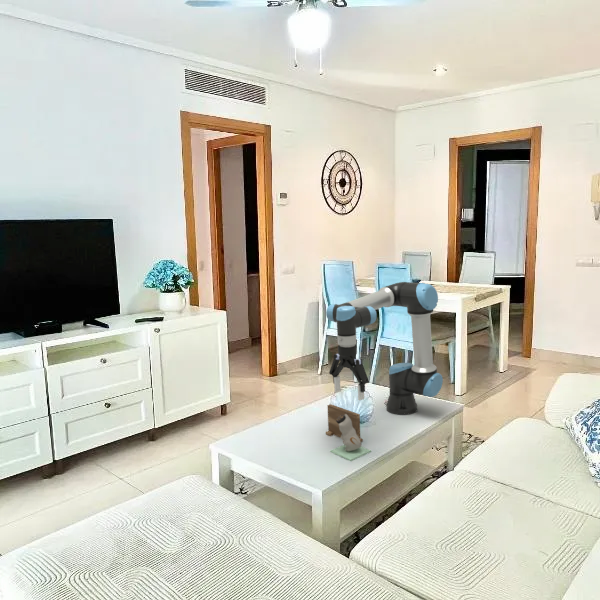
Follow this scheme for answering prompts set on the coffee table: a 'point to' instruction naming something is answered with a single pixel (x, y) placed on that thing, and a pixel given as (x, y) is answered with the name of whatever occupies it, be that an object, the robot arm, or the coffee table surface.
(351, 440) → the figurine
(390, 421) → the coffee table surface
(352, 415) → the screen
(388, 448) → the coffee table surface
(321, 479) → the coffee table surface
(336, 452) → the pad
